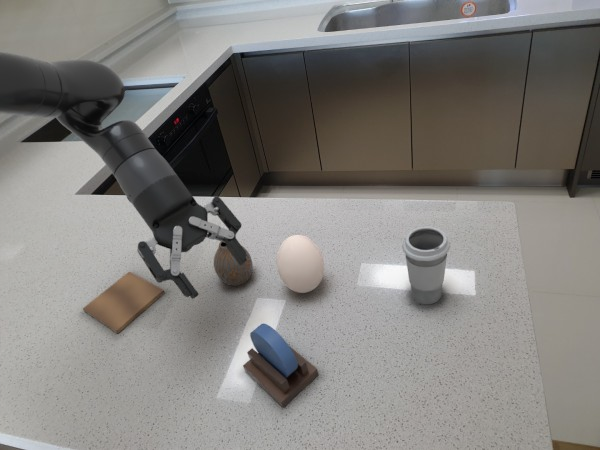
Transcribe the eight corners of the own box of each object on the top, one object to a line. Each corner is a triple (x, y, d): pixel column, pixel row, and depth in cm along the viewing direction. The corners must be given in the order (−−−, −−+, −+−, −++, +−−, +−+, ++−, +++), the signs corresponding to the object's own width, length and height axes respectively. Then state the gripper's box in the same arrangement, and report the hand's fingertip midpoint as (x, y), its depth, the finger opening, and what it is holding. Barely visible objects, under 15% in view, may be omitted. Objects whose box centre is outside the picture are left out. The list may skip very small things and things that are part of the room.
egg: (337, 283, 81) (328, 234, 74) (305, 311, 77) (292, 262, 70) (306, 265, 86) (295, 217, 79) (274, 290, 82) (260, 242, 75)
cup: (419, 316, 72) (418, 260, 65) (396, 289, 77) (393, 235, 70) (457, 298, 74) (460, 241, 66) (432, 273, 79) (433, 218, 71)
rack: (283, 408, 64) (277, 392, 61) (245, 371, 70) (238, 355, 67) (318, 374, 67) (314, 358, 65) (279, 342, 73) (274, 326, 71)
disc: (292, 387, 64) (280, 353, 60) (257, 356, 70) (244, 322, 65) (302, 378, 65) (292, 343, 60) (267, 348, 71) (255, 313, 66)
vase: (214, 289, 85) (199, 254, 80) (229, 263, 90) (216, 229, 85) (247, 293, 83) (234, 258, 77) (261, 267, 88) (250, 231, 82)
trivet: (117, 334, 80) (115, 331, 80) (84, 311, 87) (82, 308, 86) (164, 292, 87) (163, 289, 86) (130, 274, 93) (129, 271, 92)
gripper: (108, 204, 60) (181, 305, 59) (199, 155, 66) (265, 246, 66) (109, 221, 66) (175, 312, 66) (191, 175, 73) (252, 258, 72)
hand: (220, 279), depth 66 cm, fingers open, 8 cm apart
